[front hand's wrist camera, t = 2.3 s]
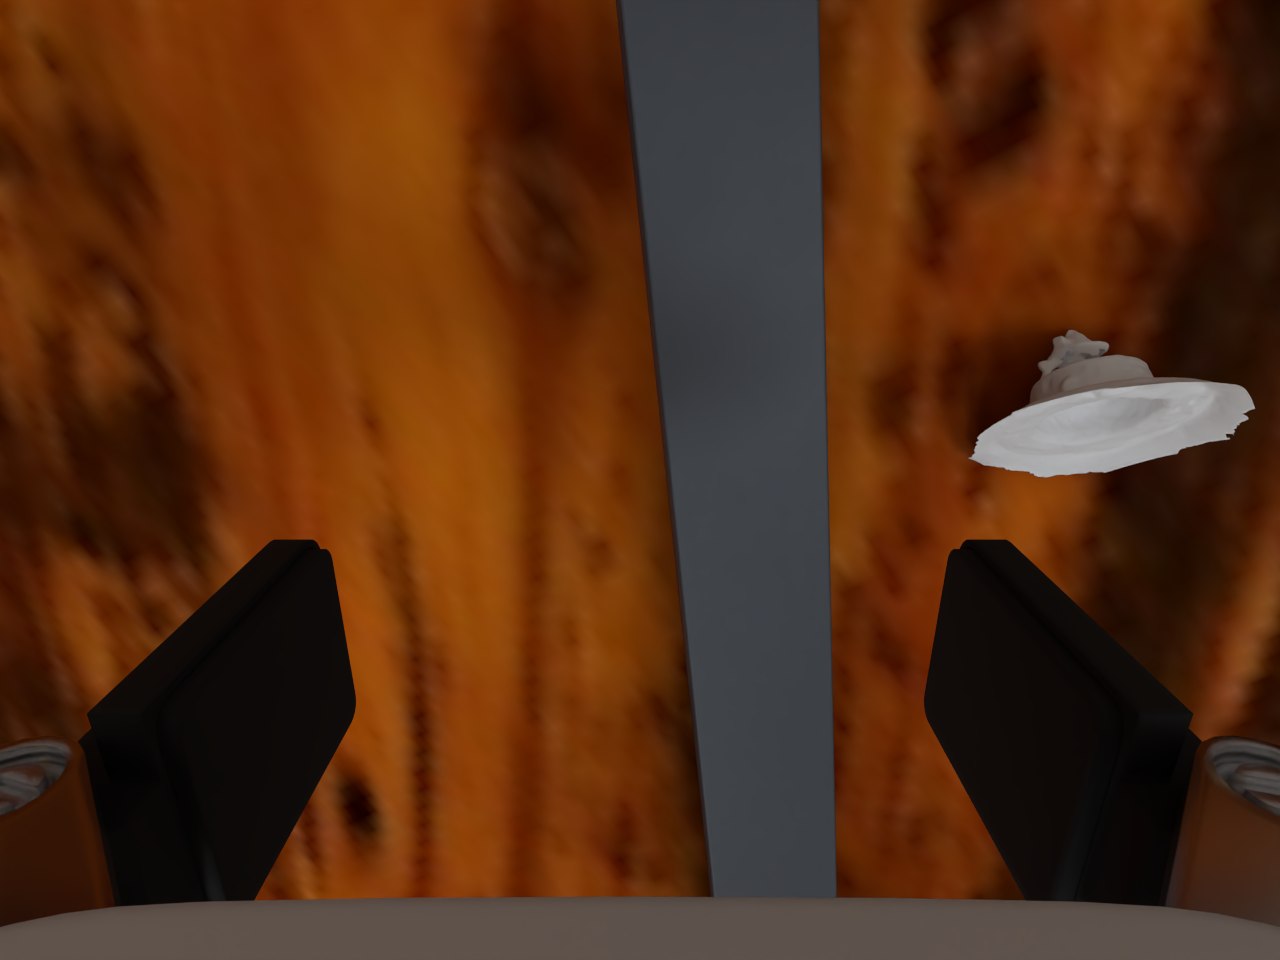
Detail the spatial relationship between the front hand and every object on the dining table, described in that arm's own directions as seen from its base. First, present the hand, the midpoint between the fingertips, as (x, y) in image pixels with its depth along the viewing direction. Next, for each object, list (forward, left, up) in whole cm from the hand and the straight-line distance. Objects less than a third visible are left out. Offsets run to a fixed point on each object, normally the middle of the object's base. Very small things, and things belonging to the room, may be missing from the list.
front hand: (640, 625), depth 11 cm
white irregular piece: (+9, +13, -18) cm, 24 cm away
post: (+18, -4, -18) cm, 25 cm away
